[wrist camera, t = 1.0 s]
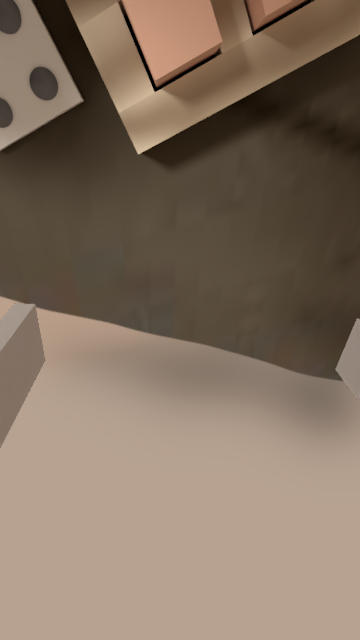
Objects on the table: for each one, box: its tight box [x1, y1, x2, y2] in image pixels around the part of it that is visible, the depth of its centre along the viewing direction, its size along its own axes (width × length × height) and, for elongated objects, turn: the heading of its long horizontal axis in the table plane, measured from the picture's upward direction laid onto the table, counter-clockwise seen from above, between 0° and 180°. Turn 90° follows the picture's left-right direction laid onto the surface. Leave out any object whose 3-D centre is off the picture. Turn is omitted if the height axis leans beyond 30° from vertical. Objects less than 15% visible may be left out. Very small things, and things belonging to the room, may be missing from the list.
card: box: [0, 0, 84, 151], centre depth 25 cm, size 9×9×1 cm
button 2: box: [122, 0, 223, 87], centre depth 22 cm, size 5×5×4 cm
